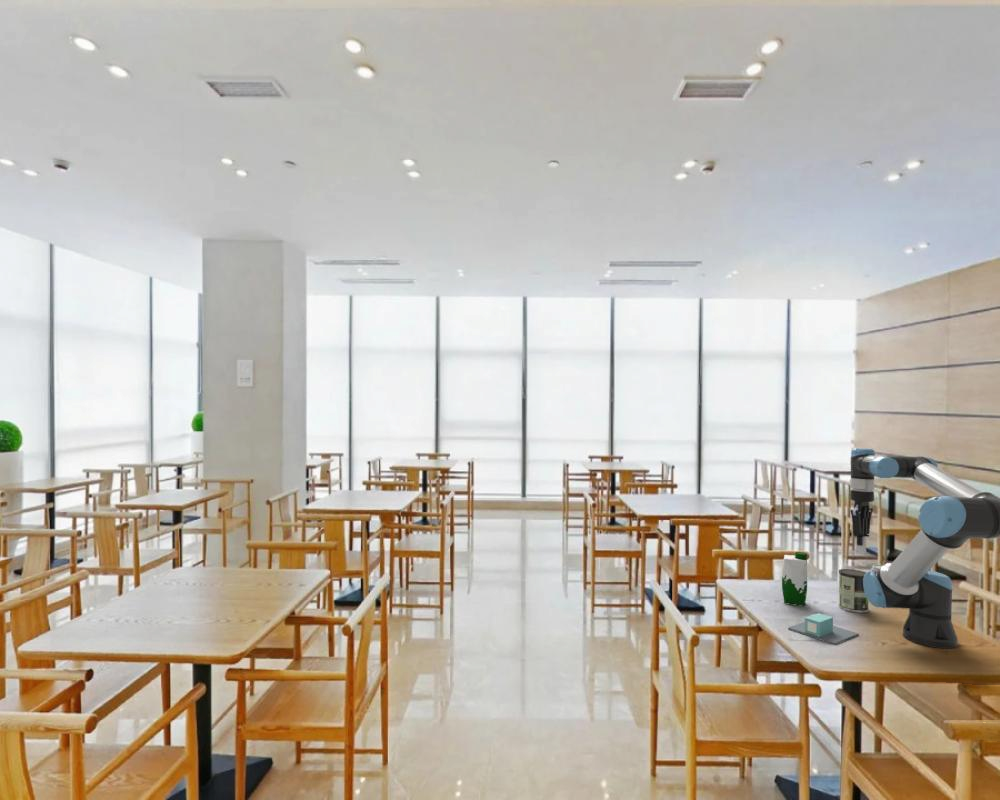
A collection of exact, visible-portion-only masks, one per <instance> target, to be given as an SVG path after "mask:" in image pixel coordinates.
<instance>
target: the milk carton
mask: <svg viewBox="0 0 1000 800" xmlns="http://www.w3.org/2000/svg"><path fill="white" fill-rule="evenodd" d="M807 557H808V555H807V553H806V552H803V551H795V553H794V555H793V554H791V555H790V554H784V555H783V562H782V568H781V588H782V589H781V591H782V597H783V602H784V604H785V603H789V604H788V605H791V604H796V605H795V606H798V605H802V606H801V607H805V605H806V600H807V594H808V558H807Z"/></svg>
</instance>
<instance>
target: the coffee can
mask: <svg viewBox="0 0 1000 800" xmlns="http://www.w3.org/2000/svg"><path fill="white" fill-rule="evenodd" d="M838 573H839V574H838V607H839V608H840V609H841V610H844V609H845V611H848V612H852V613H860V614H861V613H868V612H869V611H870V609H869V601H868V599H867V597H866V595H865V592H864V587H863V578H864V575H865V573H866V572H865V571H863V570H858V569H852V568H850V569H849V568H840V569H838Z"/></svg>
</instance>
